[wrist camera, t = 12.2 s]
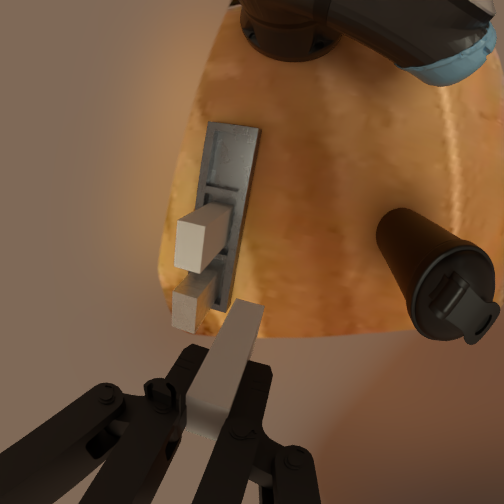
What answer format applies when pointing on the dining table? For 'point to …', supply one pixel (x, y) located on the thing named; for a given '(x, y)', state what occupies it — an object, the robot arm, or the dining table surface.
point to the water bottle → (439, 277)
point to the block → (202, 236)
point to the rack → (237, 194)
